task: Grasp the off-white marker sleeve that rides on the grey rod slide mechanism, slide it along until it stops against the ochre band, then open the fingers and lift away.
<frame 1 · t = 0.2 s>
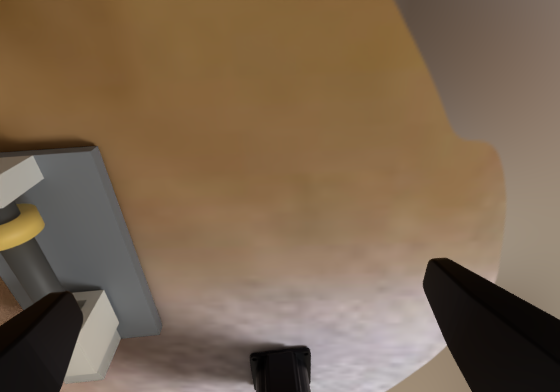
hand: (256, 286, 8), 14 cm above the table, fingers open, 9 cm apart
grey rod slide mechanism: (72, 257, 24), on the table
sleeve: (70, 332, 23), point 3 cm above the table, slide at 0.0 cm
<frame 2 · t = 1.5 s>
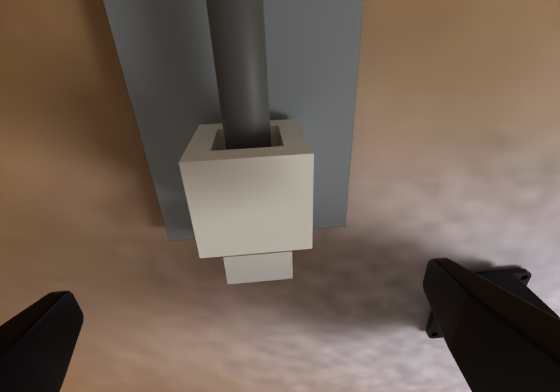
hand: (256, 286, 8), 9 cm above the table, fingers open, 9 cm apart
grey rod slide mechanism: (243, 58, 14), on the table
sleeve: (252, 182, 13), point 4 cm above the table, slide at 0.0 cm
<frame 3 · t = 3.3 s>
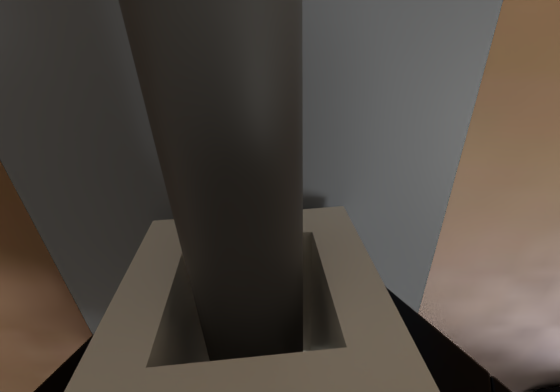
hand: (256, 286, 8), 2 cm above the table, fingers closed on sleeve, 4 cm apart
grey rod slide mechanism: (240, 90, 7), on the table
sleeve: (257, 356, 6), point 3 cm above the table, slide at 0.0 cm, touching gripper
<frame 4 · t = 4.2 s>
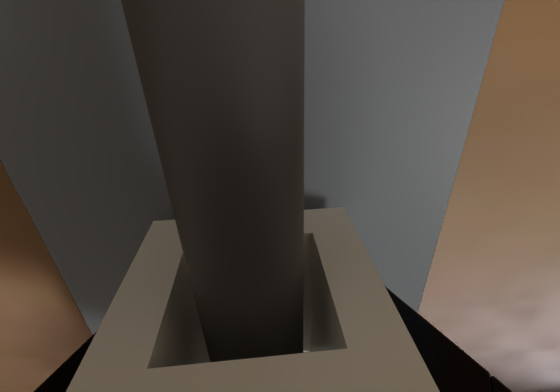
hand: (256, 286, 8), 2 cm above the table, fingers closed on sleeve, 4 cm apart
grey rod slide mechanism: (247, 156, 8), on the table
sleeve: (258, 357, 6), point 3 cm above the table, slide at 1.6 cm, touching gripper
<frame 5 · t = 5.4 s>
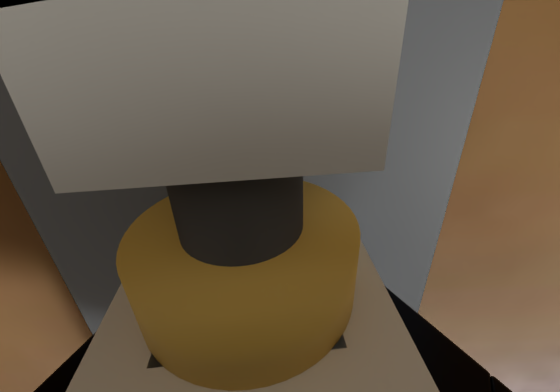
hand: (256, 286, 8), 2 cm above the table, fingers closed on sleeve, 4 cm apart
grey rod slide mechanism: (262, 311, 10), on the table
sleeve: (258, 356, 6), point 4 cm above the table, slide at 7.4 cm, touching gripper
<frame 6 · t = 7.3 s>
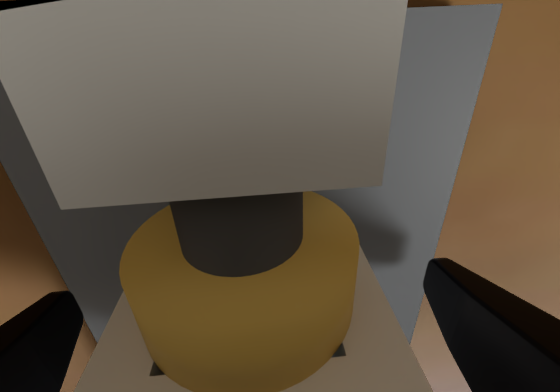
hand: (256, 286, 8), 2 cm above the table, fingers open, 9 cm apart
grey rod slide mechanism: (263, 315, 11), on the table
sleeve: (258, 362, 6), point 3 cm above the table, slide at 7.4 cm, touching grey rod slide mechanism
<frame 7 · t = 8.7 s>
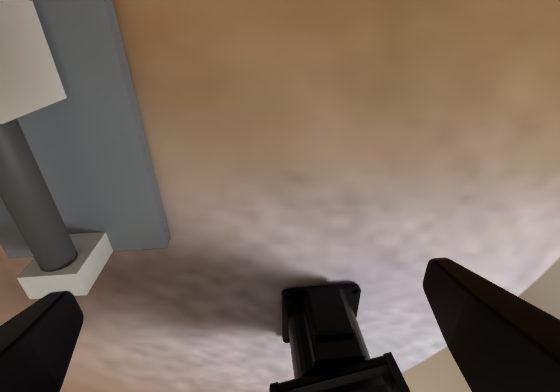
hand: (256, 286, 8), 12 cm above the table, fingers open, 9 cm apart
grey rod slide mechanism: (43, 111, 16), on the table
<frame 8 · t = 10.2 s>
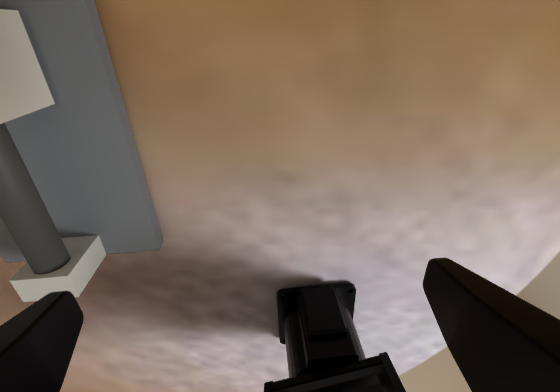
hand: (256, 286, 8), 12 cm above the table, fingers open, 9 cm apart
grey rod slide mechanism: (33, 117, 17), on the table
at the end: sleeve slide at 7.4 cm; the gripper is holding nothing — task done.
